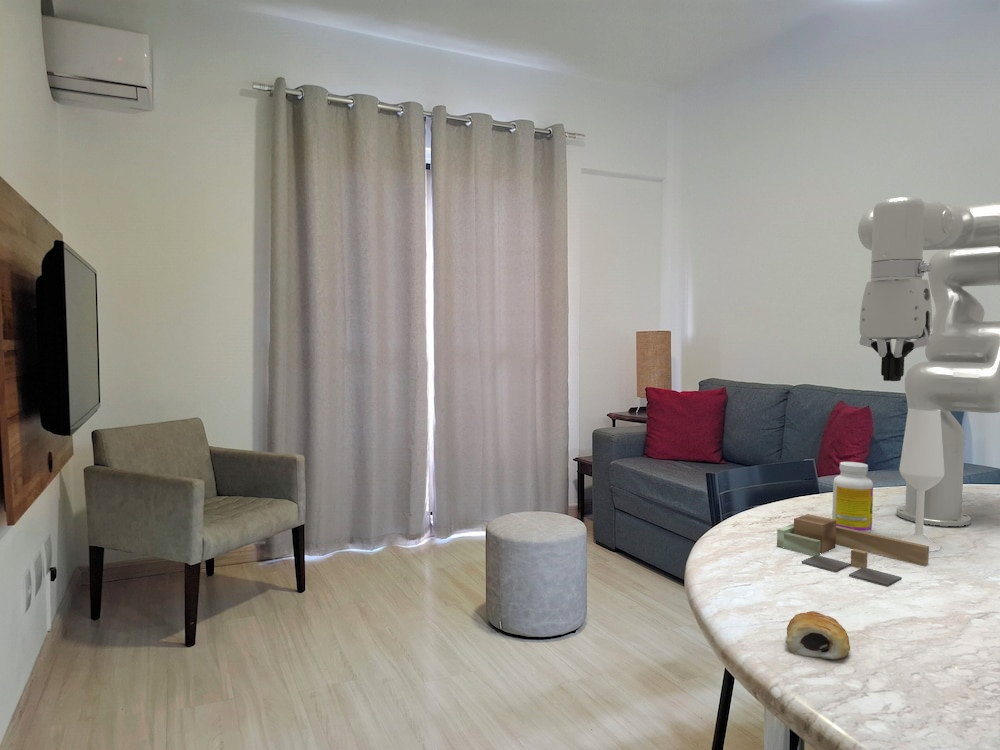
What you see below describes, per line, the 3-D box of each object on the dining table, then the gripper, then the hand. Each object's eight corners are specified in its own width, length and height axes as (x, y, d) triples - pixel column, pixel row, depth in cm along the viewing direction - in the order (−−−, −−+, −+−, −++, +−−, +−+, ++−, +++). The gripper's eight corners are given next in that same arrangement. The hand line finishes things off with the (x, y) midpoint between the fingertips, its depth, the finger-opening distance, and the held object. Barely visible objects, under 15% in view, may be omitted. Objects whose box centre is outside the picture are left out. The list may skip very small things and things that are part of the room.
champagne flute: (917, 537, 122) (922, 406, 121) (950, 549, 116) (957, 410, 114) (887, 540, 120) (892, 407, 119) (920, 552, 114) (925, 412, 112)
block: (806, 541, 120) (807, 514, 120) (835, 548, 116) (836, 520, 116) (793, 546, 117) (793, 518, 117) (821, 554, 113) (822, 525, 113)
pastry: (789, 623, 86) (790, 594, 86) (848, 634, 83) (849, 604, 83) (784, 654, 78) (785, 622, 78) (850, 667, 75) (851, 634, 75)
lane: (806, 535, 123) (807, 519, 123) (928, 564, 108) (929, 546, 108) (761, 551, 114) (761, 534, 114) (887, 586, 98) (888, 566, 98)
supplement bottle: (876, 538, 122) (879, 468, 121) (837, 535, 123) (839, 466, 123) (864, 527, 129) (867, 461, 128) (827, 525, 130) (829, 460, 129)
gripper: (954, 271, 110) (950, 382, 111) (860, 277, 122) (856, 377, 123) (937, 268, 106) (932, 384, 107) (840, 274, 117) (837, 379, 118)
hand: (892, 380), depth 115 cm, fingers closed
